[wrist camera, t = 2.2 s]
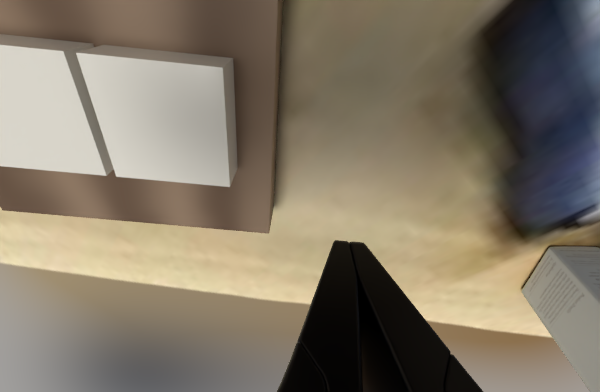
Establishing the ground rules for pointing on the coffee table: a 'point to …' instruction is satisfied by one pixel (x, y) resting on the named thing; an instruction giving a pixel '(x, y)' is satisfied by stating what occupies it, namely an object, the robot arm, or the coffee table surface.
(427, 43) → the coffee table surface
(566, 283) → the skincare box
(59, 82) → the tile
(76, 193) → the brown flat block
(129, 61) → the tile
